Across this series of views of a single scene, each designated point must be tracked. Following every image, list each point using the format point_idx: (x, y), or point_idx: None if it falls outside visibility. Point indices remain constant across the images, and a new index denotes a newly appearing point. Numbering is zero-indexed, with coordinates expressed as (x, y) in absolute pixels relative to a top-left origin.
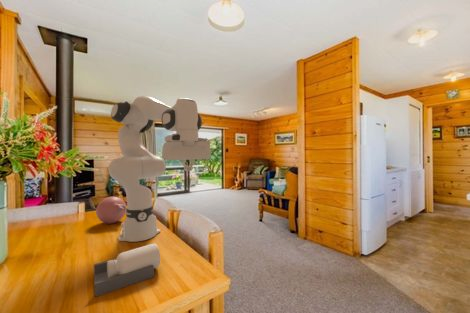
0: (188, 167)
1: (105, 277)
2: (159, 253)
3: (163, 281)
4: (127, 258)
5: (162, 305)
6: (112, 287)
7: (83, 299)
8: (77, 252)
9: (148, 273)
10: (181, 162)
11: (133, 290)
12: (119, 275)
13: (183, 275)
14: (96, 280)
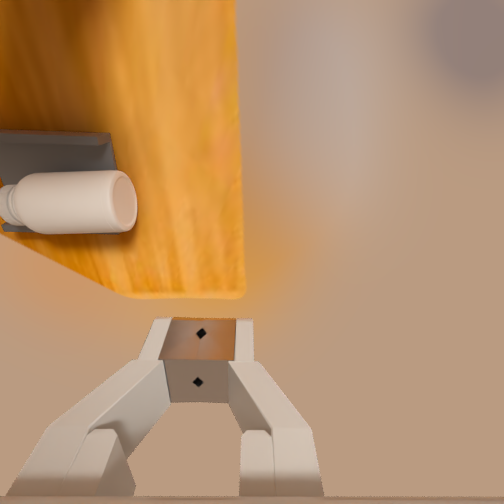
0: (197, 390)
1: (19, 169)
2: (125, 230)
3: (144, 247)
4: (44, 231)
5: (136, 298)
6: None
7: None
8: None
9: None
10: (53, 439)
11: (90, 242)
12: None
13: (184, 252)
14: (1, 170)
